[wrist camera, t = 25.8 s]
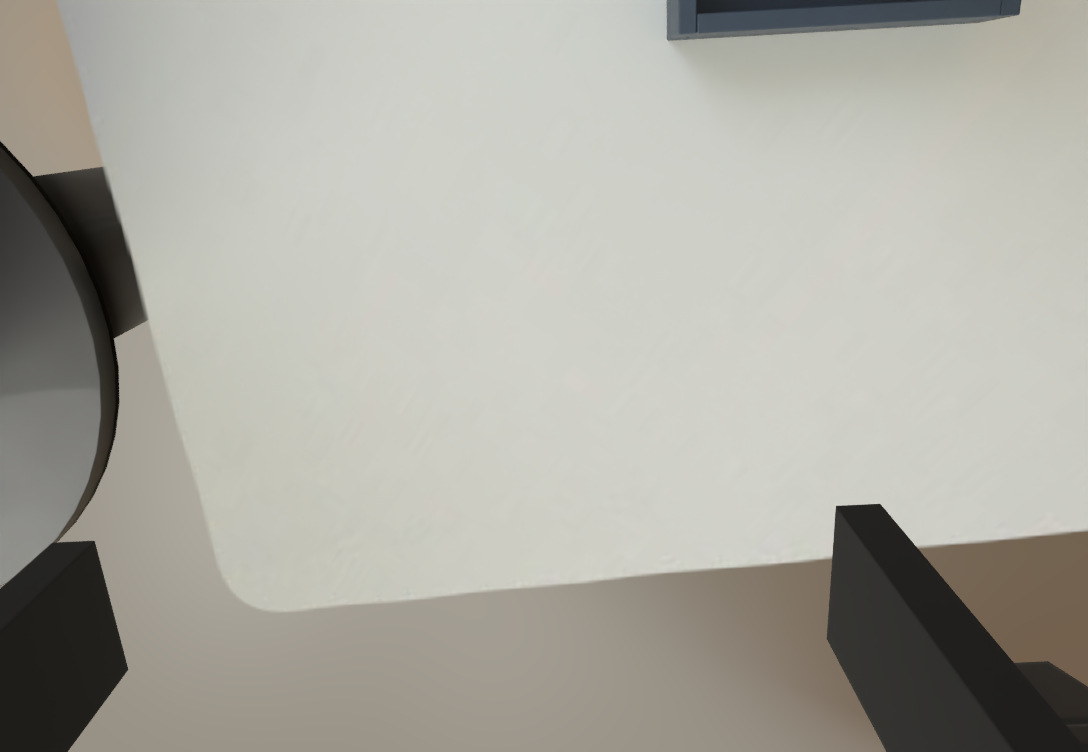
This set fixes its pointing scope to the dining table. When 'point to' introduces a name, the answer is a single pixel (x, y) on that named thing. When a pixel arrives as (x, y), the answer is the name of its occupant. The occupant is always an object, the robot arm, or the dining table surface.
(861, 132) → the dining table surface
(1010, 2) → the tray
